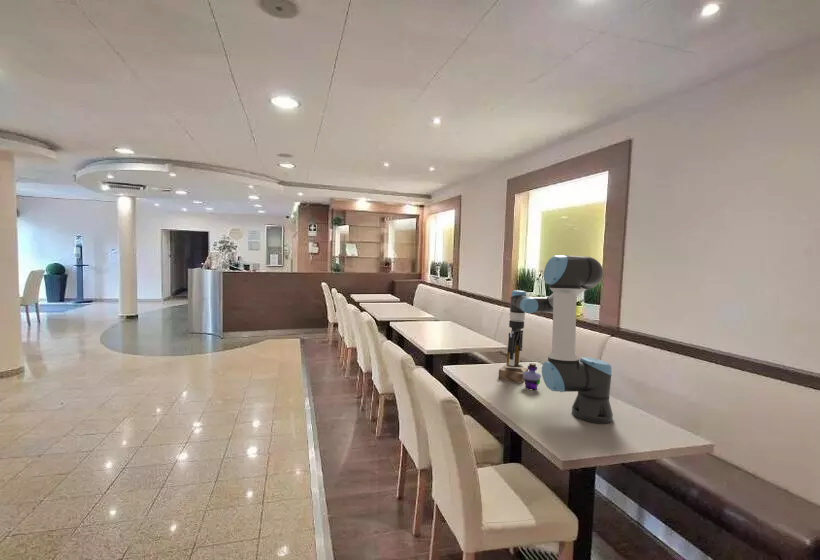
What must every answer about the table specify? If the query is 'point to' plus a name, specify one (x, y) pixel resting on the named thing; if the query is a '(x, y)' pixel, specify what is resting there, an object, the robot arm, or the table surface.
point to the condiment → (516, 363)
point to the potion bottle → (531, 377)
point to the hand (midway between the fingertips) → (514, 363)
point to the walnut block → (512, 373)
